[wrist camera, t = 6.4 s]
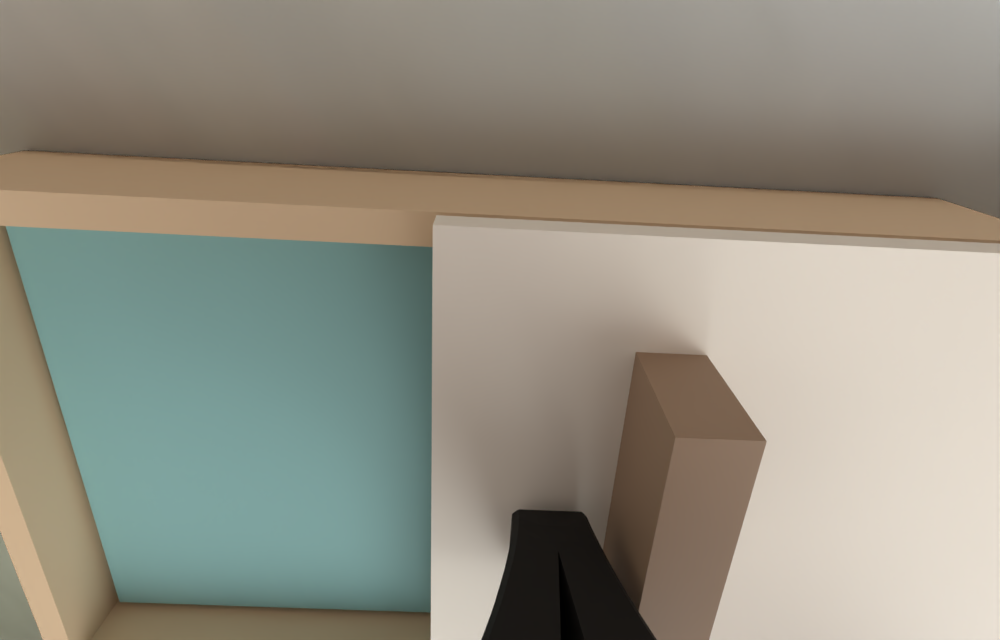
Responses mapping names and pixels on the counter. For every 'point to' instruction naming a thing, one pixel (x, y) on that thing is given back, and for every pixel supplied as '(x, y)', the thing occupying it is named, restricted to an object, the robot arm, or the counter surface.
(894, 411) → the box lid
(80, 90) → the counter surface
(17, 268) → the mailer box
